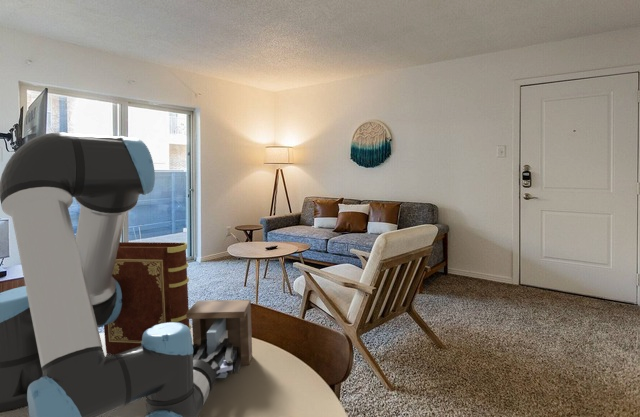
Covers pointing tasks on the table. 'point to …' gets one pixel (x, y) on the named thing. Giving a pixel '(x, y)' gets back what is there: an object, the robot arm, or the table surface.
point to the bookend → (213, 339)
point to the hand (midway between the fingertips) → (220, 335)
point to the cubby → (235, 324)
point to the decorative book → (147, 291)
